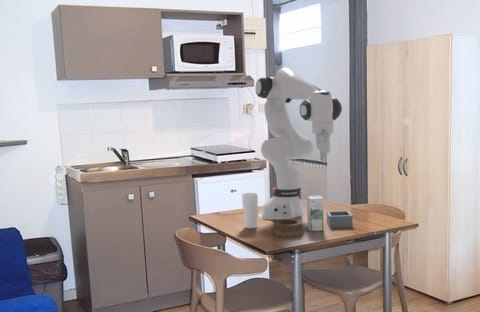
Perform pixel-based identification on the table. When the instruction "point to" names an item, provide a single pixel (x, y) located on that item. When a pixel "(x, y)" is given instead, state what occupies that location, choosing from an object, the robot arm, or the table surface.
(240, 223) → the table surface
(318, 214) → the syrup box
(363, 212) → the table surface
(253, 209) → the drinking glass
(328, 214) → the slate square socket
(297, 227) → the walnut round socket
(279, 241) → the table surface
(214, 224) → the table surface
